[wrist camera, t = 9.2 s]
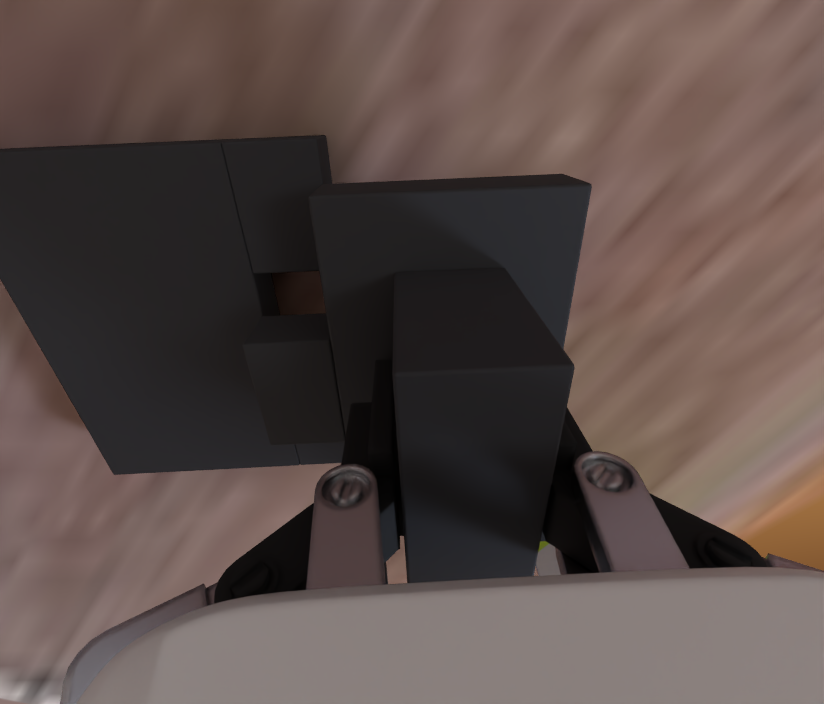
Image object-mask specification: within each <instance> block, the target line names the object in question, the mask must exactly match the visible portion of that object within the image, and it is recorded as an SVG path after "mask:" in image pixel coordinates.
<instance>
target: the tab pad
mask: <svg viewBox="0 0 824 704" xmlns="http://www.w3.org/2000/svg"><path fill="white" fill-rule="evenodd" d="M591 188H592V186H591V184H590V183H587V182H584V181H582V180H579V179H576V178H573V177H570V176H567V175H564V174H549V175H526V176H503V177H480V178H457V179H434V180H411V181H388V182H365V183H342V184H323V185H321V186H320V187H319V188H318V189H317V190H315V191H314V192H313V193H312V194H311V195H310V196H309V198H308V201H309V207H310V213H311V220H312V226H313V232H314V239H315V245H316V251H317V258H318V264H319V271H320V277H321V283H322V290H323V296H324V302H325V309H326V314H304V315H282V316H262V317H261V318H260V319H259V321H258V322H257V324H256V325H255V327H254V328H253V330H252V331H251V332H250V334H249V335H248V337H247V338H246V340H245V341H244V343H243V345H242V346H243V350H244V354H245V357H246V361H247V364H248V368H249V371H250V375H251V378H252V382H253V385H254V389H255V392H256V396H257V399H258V403H259V406H260V410H261V413H262V417H263V420H264V424H265V427H266V431H267V434H268V438H269V441H270V444H271V445H272V446H273V445H293V444H314V443H334V442H345V437H346V431H347V425H348V419H349V412H350V407H351V404H352V403H362V402H372V395H373V384H374V372H375V361H376V360H381V359H393V369H392V377H393V391H394V405H395V418H396V432H397V446H398V460H399V473H400V487H401V501H402V514H403V528H404V542H405V556H406V569H407V583H420V582H437V581H454V580H472V579H491V578H509V577H528V576H534V571H535V565H536V560H537V555H538V550H539V545H540V540H541V535H542V530H543V525H544V520H545V515H546V510H547V505H548V499H549V494H550V489H551V484H552V479H553V474H554V469H555V464H556V459H557V454H558V449H559V444H560V439H561V434H562V428H563V423H564V418H565V413H566V408H567V403H568V398H569V393H570V388H571V383H572V378H573V373H574V364H573V363H572V361H571V360H570V358H569V357H568V356H567V354H566V353H565V351H564V350H563V347H564V342H565V336H566V330H567V324H568V319H569V313H570V307H571V302H572V296H573V290H574V285H575V279H576V273H577V268H578V262H579V256H580V250H581V245H582V239H583V233H584V228H585V222H586V216H587V211H588V205H589V199H590V193H591Z"/></svg>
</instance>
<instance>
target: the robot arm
mask: <svg viewBox="0 0 824 704" xmlns="http://www.w3.org/2000/svg"><path fill="white" fill-rule="evenodd" d="M392 369H393V359H381V360H376V361H375V372H374V384H373V395H372V402H362V403H352V404H351V407H350V412H349V419H348V425H347V431H346V437H345V444H344V450H343V456H342V463H341V465H340V466H337V467H334V468H332V469H330V470H329V471H327V472H326V473H325V474H324V475H323V476H322V477H321V478H320V480H319V481H318V483H317V485H316V489H315V497H314V503H313V504H311V505H310V506H309V507H307V508H306V509H305V510H303V511H302V512H301V513H299V514H298V515H297V516H295V517H294V518H293V519H291V520H290V521H289V522H287V523H286V524H285V525H283V526H282V527H281V528H279V529H278V530H277V531H275V532H274V533H273V534H271V535H270V536H269V537H267V538H266V539H264V540H263V541H262V542H260V543H259V544H258V545H256V546H255V547H254V548H252V549H251V550H250V551H248V552H247V553H246V554H244V555H243V556H242V557H240V558H239V559H238V560H236V561H235V562H234V563H233V564H232V565H231V566H230V567H229V568H227V569H226V571H225V572H224V573H223V575H222V576H221V578H220V579H219V581H218V583H215V584H213V585H211V586H209V587H207V588H206V587H205V585H204V584H202V585H200V586H198V587H196V588H193V589H191V590H189V591H187V592H185V593H183V594H181V595H179V596H177V597H175V598H173V599H171V600H169V601H167V602H164V603H162V604H160V605H158V606H156V607H154V608H152V609H150V610H148V611H146V612H144V613H142V614H140V615H137V616H135V617H133V618H131V619H129V620H127V621H125V622H123V623H121V624H119V625H117V626H115V627H113V628H111V629H108V630H106V631H105V632H103V633H102V634H100V635H98V636H97V637H95V638H94V639H92V640H91V641H90V642H89V643H88V644H87V645H86V646H85V647H84V648H83V649H82V650H81V651H79V652H78V654H77V655H76V657H75V658H74V660H73V661H72V663H71V664H70V666H69V667H68V670H67V673H66V676H65V679H64V682H63V687H62V694H61V701H60V704H824V571H822V570H819V569H816V568H813V567H809V566H806V565H803V564H800V563H797V562H794V561H791V560H788V559H784V558H781V557H778V556H775V555H772V554H768V555H767V556H766V558H763V557H761V556H760V555H759V553H758V552H757V551H756V550H755V549H753V548H752V547H751V546H750V545H749V544H747V543H746V542H745V541H743V540H741V539H740V538H738V537H736V536H735V535H733V534H731V533H729V532H727V531H725V530H723V529H721V528H719V527H717V526H715V525H713V524H711V523H709V522H707V521H705V520H703V519H700V518H698V517H696V516H694V515H692V514H690V513H688V512H686V511H684V510H682V509H680V508H678V507H676V506H674V505H672V504H670V503H668V502H666V501H664V500H662V499H660V498H658V497H656V496H654V495H652V494H650V493H649V492H648V490H647V488H646V486H645V485H644V483H643V481H642V479H641V477H640V475H639V474H638V472H637V471H636V470H635V468H634V467H633V466H632V465H631V464H629V463H628V462H627V461H626V460H624V459H622V458H620V457H618V456H616V455H613V454H610V453H607V452H599V451H594V452H593V451H592V449H591V448H590V446H589V444H588V442H587V441H586V439H585V437H584V436H583V434H582V432H581V430H580V429H579V427H578V425H577V424H576V422H575V420H574V418H573V417H572V415H571V413H570V412H569V410H568V408H566V413H565V418H564V423H563V428H562V434H561V439H560V444H559V449H558V454H557V459H556V464H555V469H554V474H553V479H552V484H551V489H550V494H549V499H548V505H547V510H546V515H545V520H544V525H543V530H542V535H541V540H540V541H546V542H548V543H549V544H551V545H552V546H554V547H555V550H556V558H557V562H558V566H559V570H560V574H561V575H547V576H528V577H509V578H491V579H472V580H454V581H437V582H420V583H403V584H388V578H387V566H386V561H387V560H388V559H389V558H390V557H391V556H392V555H393V554H394V553H395V552H396V551H397V550H398V549H400V536H404V528H403V514H402V501H401V487H400V473H399V460H398V446H397V432H396V418H395V405H394V391H393V377H392Z"/></svg>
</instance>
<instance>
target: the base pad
mask: <svg viewBox="0 0 824 704" xmlns="http://www.w3.org/2000/svg"><path fill="white" fill-rule="evenodd" d="M323 184H332V179H331V171H330V163H329V155H328V147H327V140H326V136H325V135H316V136H292V137H269V138H245V139H222V140H198V141H175V142H151V143H128V144H104V145H81V146H57V147H34V148H10V149H0V279H1V281H2V282H3V284H4V286H5V288H6V289H7V291H8V293H9V295H10V296H11V298H12V300H13V301H14V303H15V305H16V307H17V308H18V310H19V312H20V314H21V315H22V317H23V319H24V320H25V322H26V324H27V326H28V327H29V329H30V331H31V333H32V334H33V336H34V338H35V339H36V341H37V343H38V345H39V346H40V348H41V350H42V352H43V353H44V355H45V357H46V358H47V360H48V362H49V364H50V365H51V367H52V369H53V371H54V372H55V374H56V376H57V377H58V379H59V381H60V383H61V384H62V386H63V388H64V390H65V391H66V393H67V395H68V396H69V398H70V400H71V402H72V403H73V405H74V407H75V409H76V410H77V412H78V414H79V415H80V417H81V419H82V421H83V422H84V424H85V426H86V428H87V429H88V431H89V433H90V434H91V436H92V438H93V440H94V441H95V443H96V445H97V447H98V448H99V450H100V452H101V453H102V455H103V457H104V459H105V460H106V462H107V464H108V466H109V467H110V469H111V471H112V472H113V474H114V475H118V474H137V473H156V472H175V471H194V470H213V469H232V468H251V467H271V466H290V465H299V464H301V465H306V464H325V463H342V456H343V450H344V444H345V442H334V443H314V444H293V445H273V446H272V445H271V444H270V441H269V438H268V434H267V431H266V427H265V424H264V420H263V417H262V413H261V410H260V406H259V403H258V399H257V396H256V392H255V389H254V385H253V382H252V378H251V375H250V371H249V368H248V364H247V361H246V357H245V354H244V350H243V346H242V345H243V343H244V341H245V340H246V338H247V337H248V335H249V334H250V332H251V331H252V330H253V328H254V327H255V325H256V324H257V322H258V321H259V319H260V318H261V317H262V316H280V313H279V309H278V304H277V300H276V295H275V291H274V286H273V282H272V277H271V273H279V272H301V271H319V264H318V258H317V251H316V245H315V239H314V232H313V226H312V220H311V213H310V207H309V201H308V198H309V196H310V195H311V194H312V193H313V192H314V191H315V190H317V189H318V188H319V187H320V186H321V185H323Z"/></svg>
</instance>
